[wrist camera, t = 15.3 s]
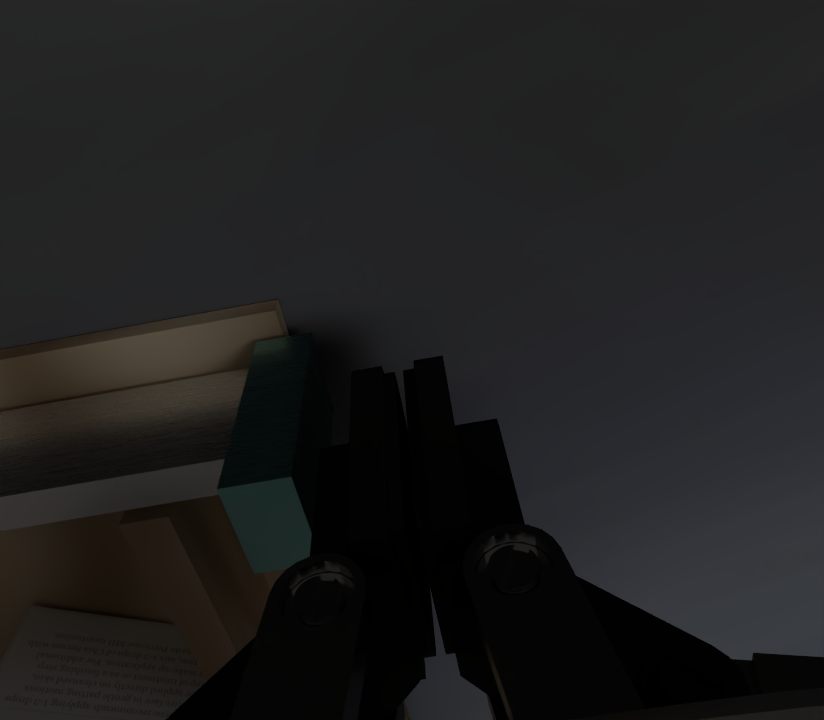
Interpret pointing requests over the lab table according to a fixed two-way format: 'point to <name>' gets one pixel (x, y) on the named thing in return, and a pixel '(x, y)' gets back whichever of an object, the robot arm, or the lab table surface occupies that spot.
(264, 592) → the rest
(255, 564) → the gate
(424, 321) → the lab table surface
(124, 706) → the skincare box
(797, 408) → the lab table surface
